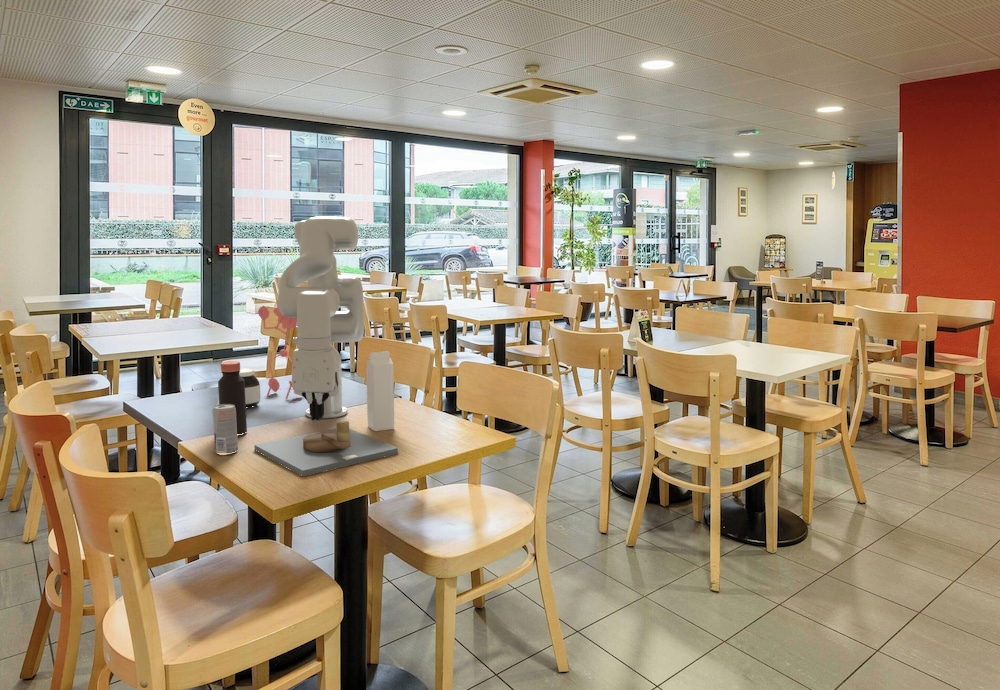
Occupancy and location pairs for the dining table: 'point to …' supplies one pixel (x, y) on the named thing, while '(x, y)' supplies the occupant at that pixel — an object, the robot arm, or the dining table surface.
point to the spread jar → (250, 387)
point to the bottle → (233, 392)
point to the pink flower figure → (285, 322)
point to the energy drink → (225, 428)
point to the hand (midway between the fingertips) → (317, 418)
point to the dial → (329, 439)
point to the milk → (380, 391)
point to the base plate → (324, 453)
